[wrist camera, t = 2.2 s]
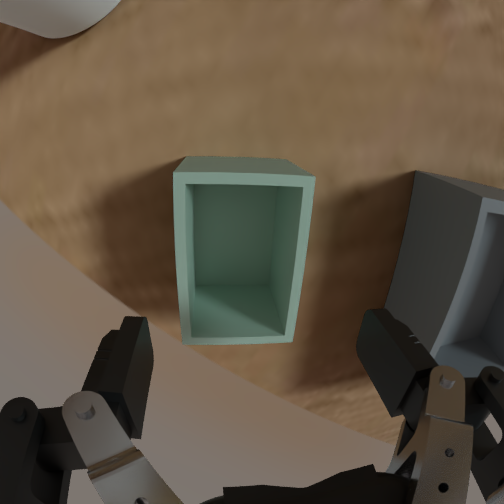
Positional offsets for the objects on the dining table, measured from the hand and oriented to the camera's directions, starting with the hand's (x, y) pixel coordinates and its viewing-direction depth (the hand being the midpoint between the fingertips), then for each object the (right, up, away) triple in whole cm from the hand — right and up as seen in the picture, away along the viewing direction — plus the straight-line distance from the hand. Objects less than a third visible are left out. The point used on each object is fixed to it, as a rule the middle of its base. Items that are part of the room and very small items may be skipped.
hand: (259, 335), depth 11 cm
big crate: (+19, +1, +13) cm, 23 cm away
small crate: (-1, +5, +9) cm, 10 cm away
